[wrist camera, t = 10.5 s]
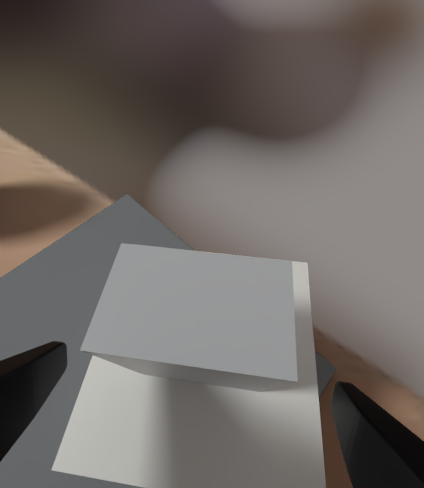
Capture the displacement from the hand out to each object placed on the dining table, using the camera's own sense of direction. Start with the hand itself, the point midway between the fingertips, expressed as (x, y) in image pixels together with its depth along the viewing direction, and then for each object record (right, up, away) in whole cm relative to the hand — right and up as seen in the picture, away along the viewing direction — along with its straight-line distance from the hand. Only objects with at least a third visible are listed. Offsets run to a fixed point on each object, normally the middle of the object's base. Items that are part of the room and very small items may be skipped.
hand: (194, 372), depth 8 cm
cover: (0, -3, +7) cm, 8 cm away
